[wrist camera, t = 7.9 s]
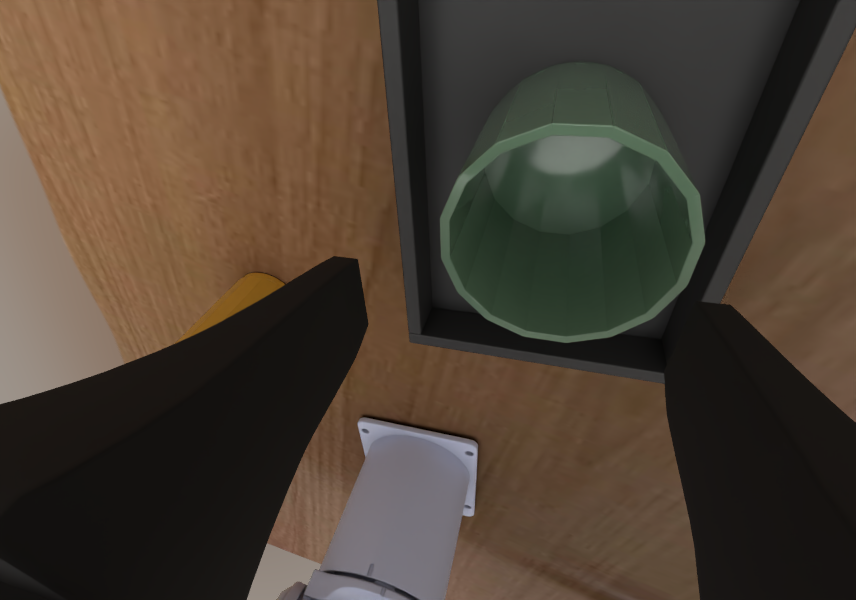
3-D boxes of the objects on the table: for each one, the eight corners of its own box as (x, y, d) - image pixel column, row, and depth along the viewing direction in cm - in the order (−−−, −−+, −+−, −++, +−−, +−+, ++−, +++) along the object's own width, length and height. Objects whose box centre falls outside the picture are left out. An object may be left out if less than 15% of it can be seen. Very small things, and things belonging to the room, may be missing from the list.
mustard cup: (307, 329, 25) (254, 405, 21) (250, 319, 26) (187, 391, 22) (292, 276, 23) (228, 351, 18) (229, 268, 23) (155, 337, 19)
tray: (670, 344, 19) (679, 387, 17) (423, 309, 22) (409, 342, 20) (917, -226, 9) (1003, -268, 7) (393, -165, 11) (358, -184, 10)
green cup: (636, 241, 16) (657, 357, 12) (478, 226, 17) (442, 324, 13) (690, 61, 12) (752, 130, 8) (483, 60, 14) (436, 118, 9)
